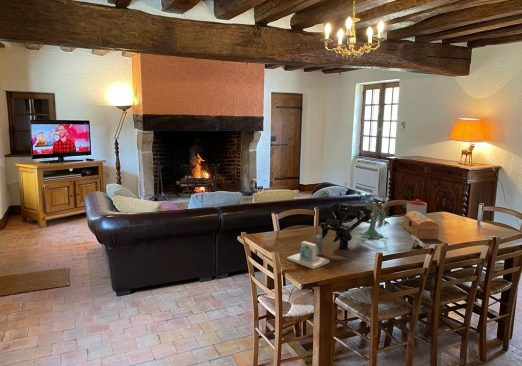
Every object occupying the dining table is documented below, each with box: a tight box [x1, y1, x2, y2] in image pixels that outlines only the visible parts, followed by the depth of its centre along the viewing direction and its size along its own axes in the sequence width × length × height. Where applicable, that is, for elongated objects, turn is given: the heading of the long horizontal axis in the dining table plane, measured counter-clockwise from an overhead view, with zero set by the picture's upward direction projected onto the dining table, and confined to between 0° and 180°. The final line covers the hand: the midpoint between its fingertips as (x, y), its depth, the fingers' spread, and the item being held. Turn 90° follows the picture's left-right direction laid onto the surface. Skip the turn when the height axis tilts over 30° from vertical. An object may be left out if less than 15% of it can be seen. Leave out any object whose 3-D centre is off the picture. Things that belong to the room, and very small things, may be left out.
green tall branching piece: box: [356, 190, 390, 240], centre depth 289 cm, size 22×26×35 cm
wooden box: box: [402, 211, 440, 240], centre depth 300 cm, size 30×16×14 cm, turn 179°
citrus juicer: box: [405, 199, 428, 217], centre depth 330 cm, size 16×17×20 cm
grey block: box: [307, 235, 323, 256], centre depth 240 cm, size 12×3×12 cm, turn 134°
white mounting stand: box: [286, 240, 330, 270], centre depth 237 cm, size 15×20×11 cm
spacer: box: [299, 247, 312, 261], centre depth 235 cm, size 2×7×7 cm, turn 44°
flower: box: [409, 233, 425, 252], centre depth 263 cm, size 13×6×30 cm
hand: (327, 240), depth 249 cm, fingers open, 9 cm apart
